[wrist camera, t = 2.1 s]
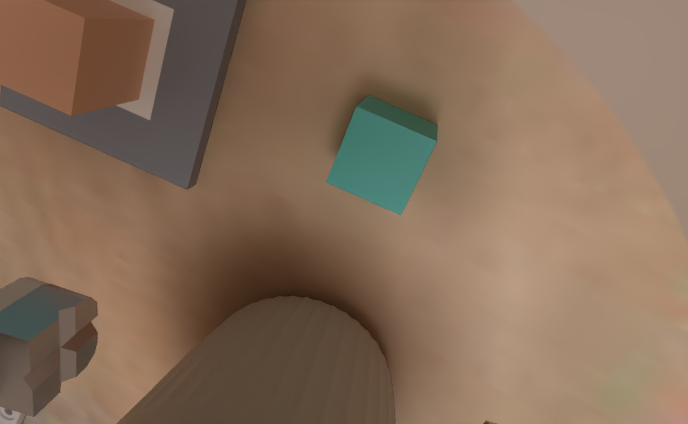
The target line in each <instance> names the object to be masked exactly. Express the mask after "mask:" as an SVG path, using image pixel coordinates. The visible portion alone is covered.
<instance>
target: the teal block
mask: <svg viewBox="0 0 688 424" xmlns="http://www.w3.org/2000/svg"><path fill="white" fill-rule="evenodd" d="M437 128H438V125H436V124H434V123H431V122H429V121H427V120H424V119H422V118H420V117H418V116H415V115H413V114H411V113H408V112H406V111H404V110H401V109H399V108H397V107H395V106H392V105H390V104H388V103H385V102H383V101H381V100H378V99H376V98H374V97H371V96H369V95H368V96H367V97H366V98H365V99H364V100H363V101H362V102H361V103H360V104H358V105H357V106H356V109H355V111H354V114H353V116H352V119H351V121H350V124H349V126H348V129H347V131H346V134H345V136H344V139H343V141H342V144H341V146H340V149H339V151H338V154H337V156H336V159H335V162H334V164H333V167H332V169H331V172H330V174H329V177H328V179H327V183H329V184H331V185H334V186H336V187H338V188H340V189H343V190H345V191H347V192H349V193H352V194H354V195H356V196H358V197H361V198H363V199H365V200H368V201H370V202H372V203H374V204H377V205H379V206H381V207H383V208H386V209H388V210H390V211H392V212H395V213H397V214H399V215H401V214H402V212H403V210H404V208H405V206H406V204H407V202H408V200H409V198H410V196H411V194H412V192H413V190H414V188H415V186H416V183H417V181H418V179H419V177H420V175H421V173H422V171H423V169H424V167H425V165H426V163H427V161H428V159H429V157H430V155H431V153H432V151H433V149H434V146H435V144H436V142H437Z"/></svg>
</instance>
